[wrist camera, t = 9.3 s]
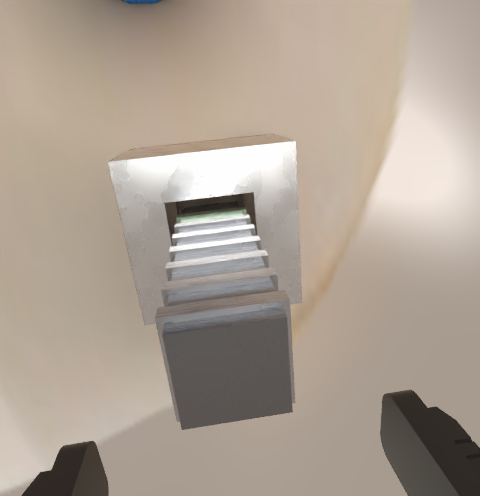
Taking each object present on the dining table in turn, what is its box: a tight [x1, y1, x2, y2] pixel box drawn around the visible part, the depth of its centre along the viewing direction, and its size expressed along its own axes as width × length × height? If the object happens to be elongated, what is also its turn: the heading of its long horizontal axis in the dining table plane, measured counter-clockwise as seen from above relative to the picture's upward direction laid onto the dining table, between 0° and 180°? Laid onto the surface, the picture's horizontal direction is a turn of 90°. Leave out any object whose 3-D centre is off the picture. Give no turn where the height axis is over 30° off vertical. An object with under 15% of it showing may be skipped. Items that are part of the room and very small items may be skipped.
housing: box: [108, 134, 302, 325], centre depth 29 cm, size 13×12×8 cm
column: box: [155, 201, 295, 430], centre depth 20 cm, size 4×4×16 cm
